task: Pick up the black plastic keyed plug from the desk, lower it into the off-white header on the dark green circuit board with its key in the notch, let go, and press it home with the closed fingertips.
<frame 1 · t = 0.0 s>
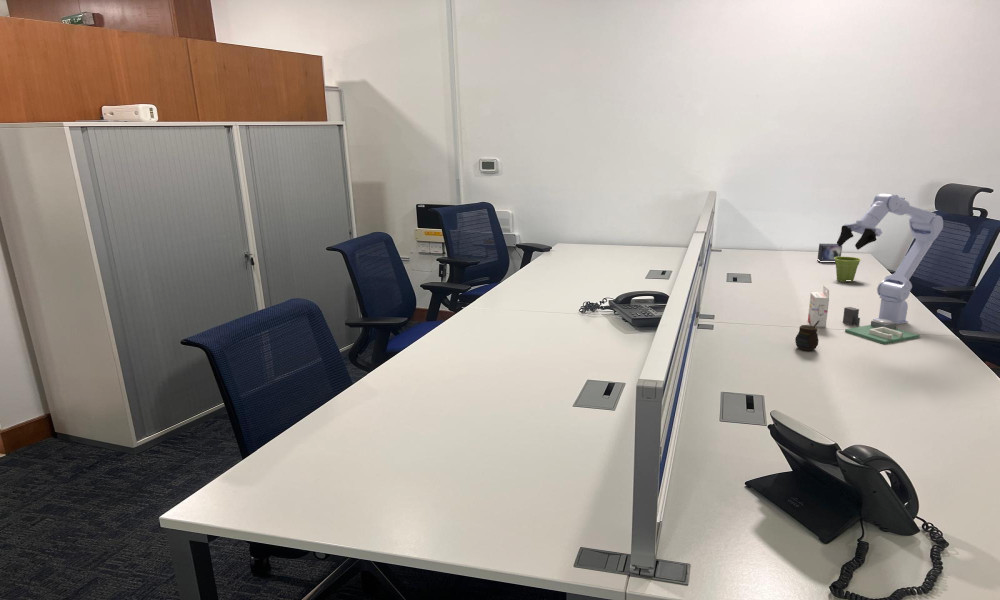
hand: (847, 246, 234), 32 cm above the table, tool tilted 50°, fingers open, 7 cm apart
mate gourd: (806, 349, 224), on the table
plant pot: (844, 281, 320), on the table
plug: (849, 323, 251), on the table
small box: (828, 263, 362), on the table
ink cartridge box: (816, 324, 252), on the table
board: (881, 334, 237), on the table
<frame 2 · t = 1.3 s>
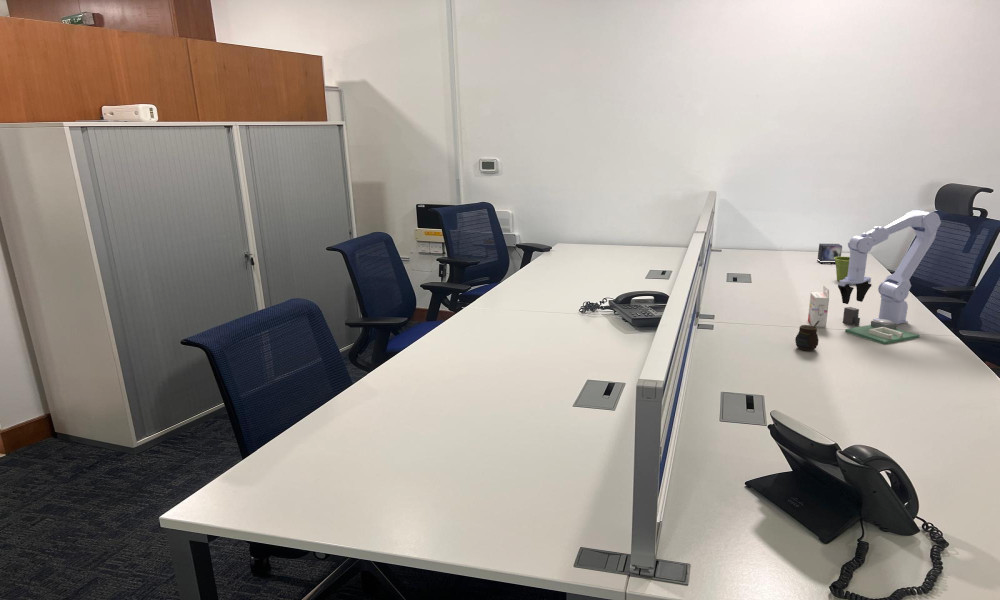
hand: (852, 302, 249), 8 cm above the table, tool pointing down, fingers open, 7 cm apart
nothing on the table moved.
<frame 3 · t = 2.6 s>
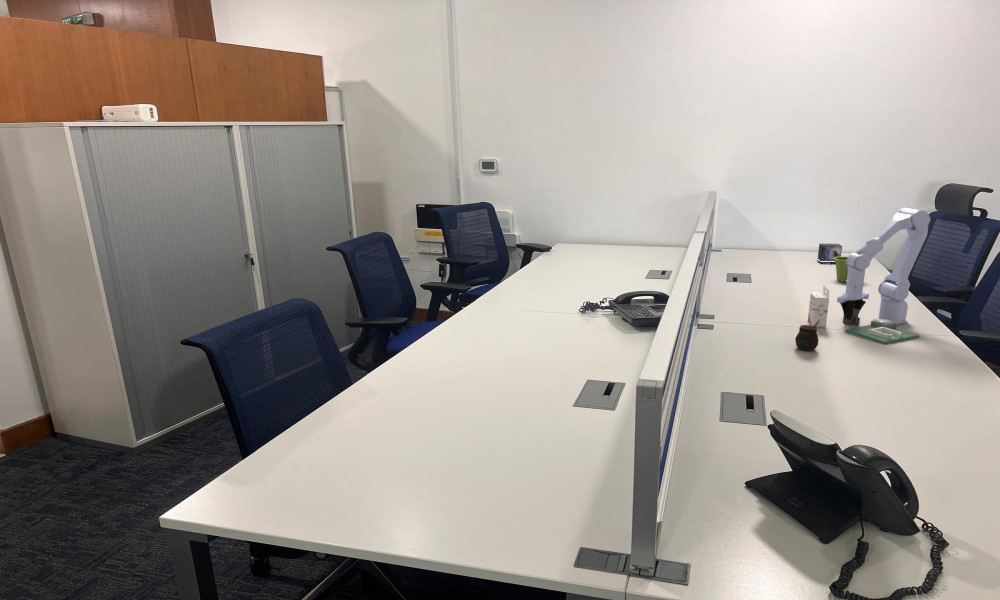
hand: (850, 318, 251), 2 cm above the table, tool pointing down, fingers closed on plug, 3 cm apart
plug: (849, 323, 251), on the table, touching gripper
everything else where it was.
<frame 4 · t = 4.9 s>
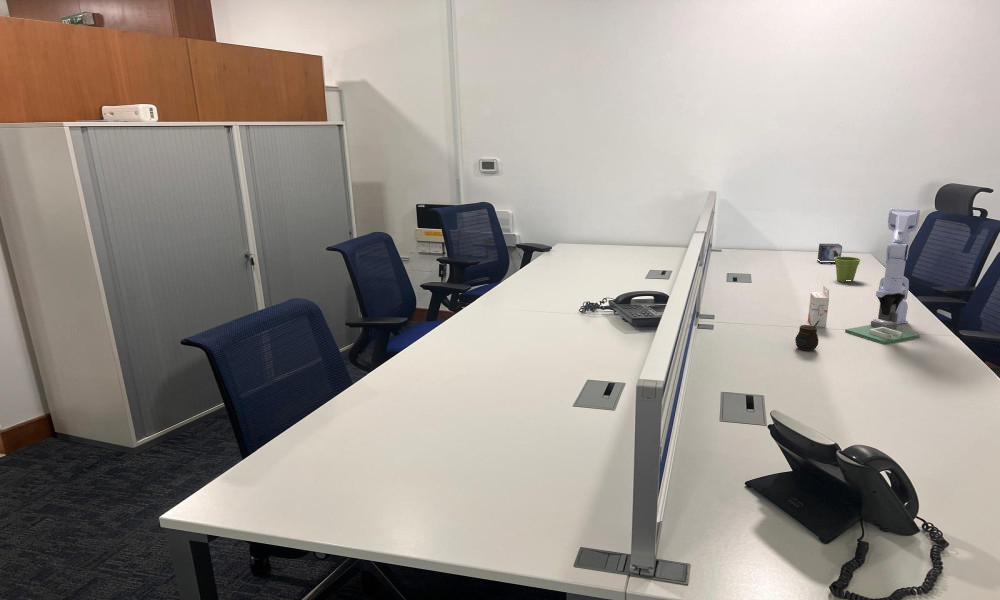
hand: (888, 314, 232), 9 cm above the table, tool pointing down, fingers closed on plug, 3 cm apart
plug: (885, 319, 233), point 7 cm above the table, touching gripper
everything else where it was.
when the fingers open (4 cm above the table, at t = 7.0 s): plug stays where it is, resting on board.
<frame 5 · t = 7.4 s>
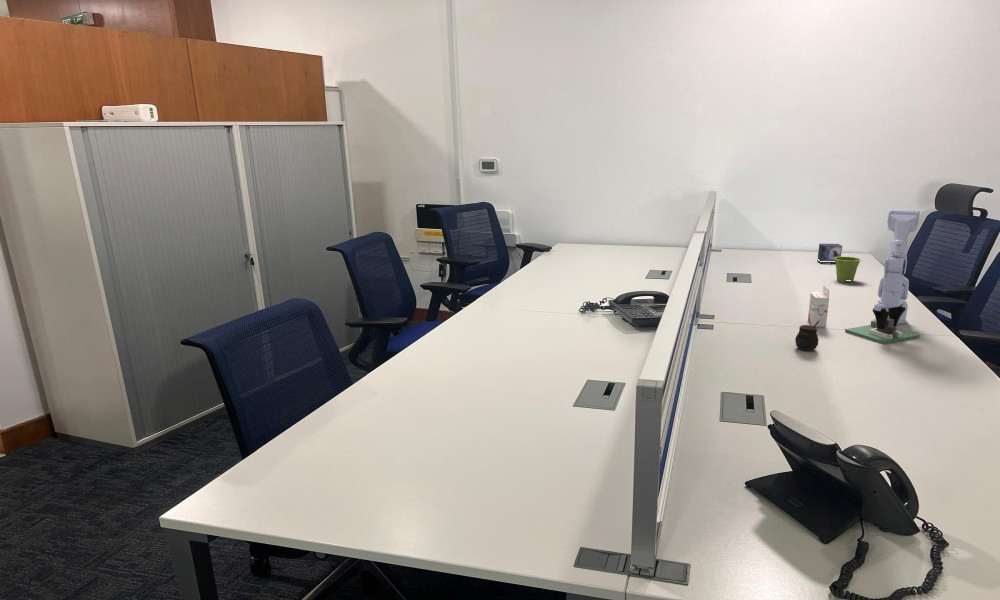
hand: (886, 327, 233), 4 cm above the table, tool pointing down, fingers open, 6 cm apart
plug: (883, 334, 234), point 1 cm above the table, touching board
everything else where it was.
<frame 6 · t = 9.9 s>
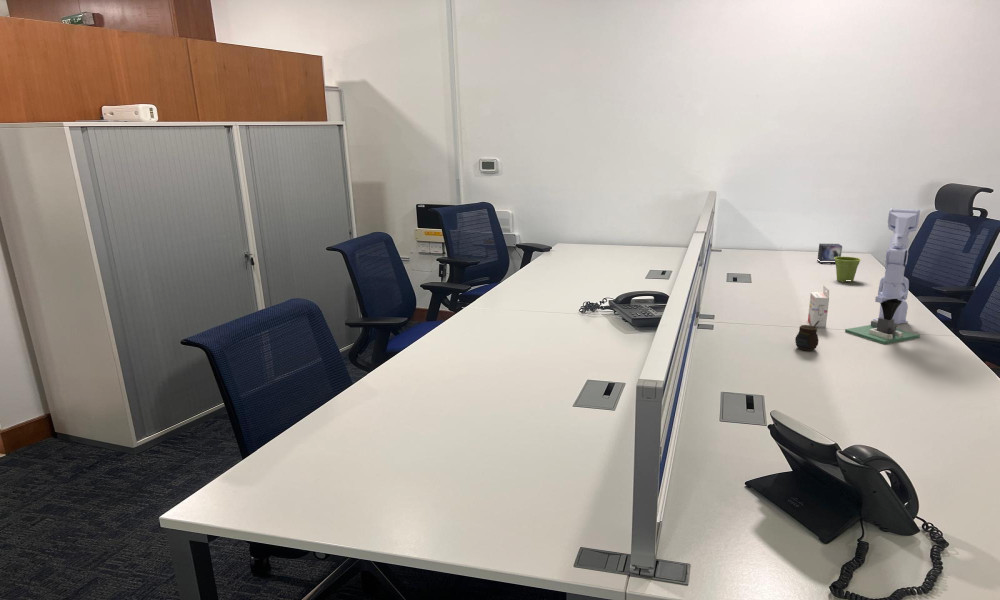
hand: (887, 319, 232), 7 cm above the table, tool pointing down, fingers closed, pressing on plug
plug: (883, 334, 234), point 1 cm above the table, touching board, gripper
everything else where it was.
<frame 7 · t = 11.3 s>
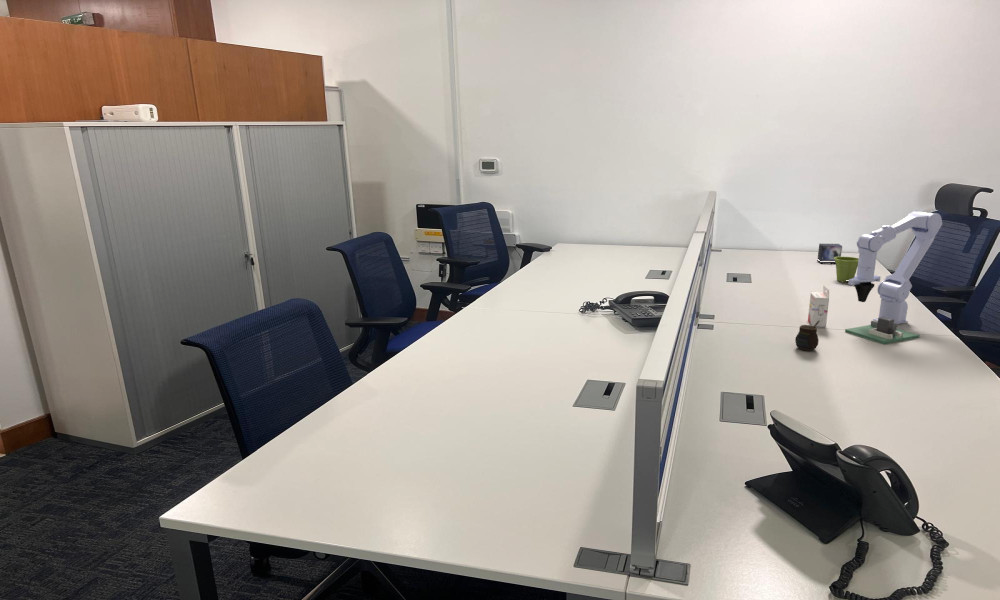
hand: (861, 301, 247), 9 cm above the table, tool pointing down, fingers closed
plug: (883, 334, 234), point 1 cm above the table, touching board
everything else where it was.
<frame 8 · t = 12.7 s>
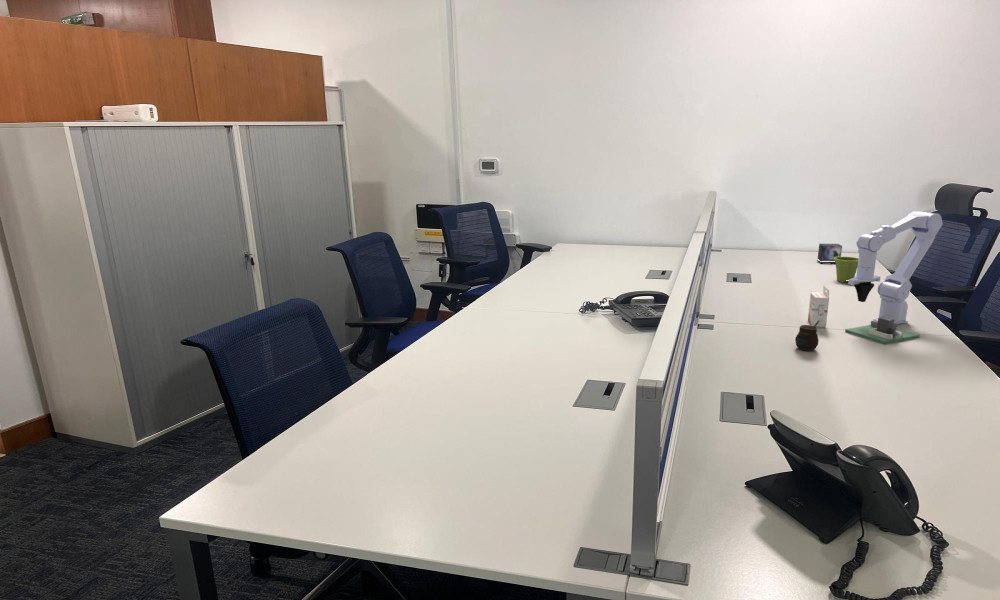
hand: (861, 301, 247), 9 cm above the table, tool pointing down, fingers closed
nothing on the table moved.
at the end: plug 0.6 cm from the target spot on the board, point 1.0 cm above the board's base; plug tilted 0°; the gripper is holding nothing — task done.
